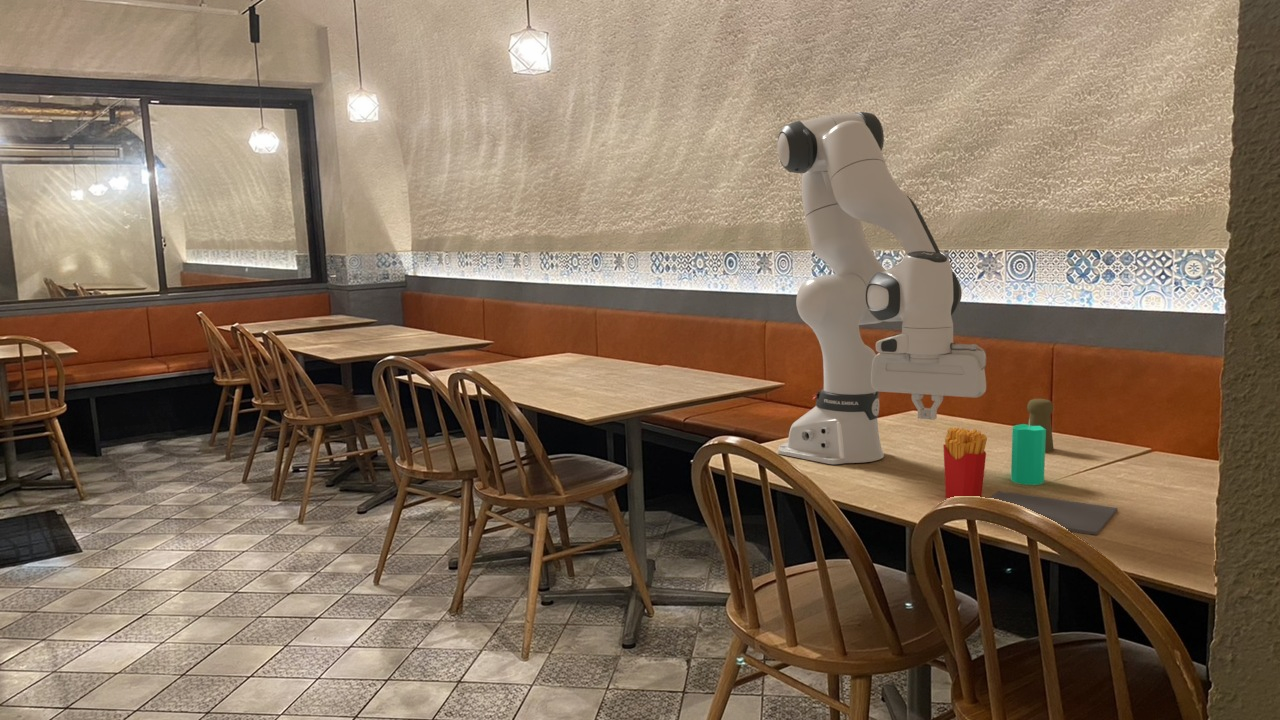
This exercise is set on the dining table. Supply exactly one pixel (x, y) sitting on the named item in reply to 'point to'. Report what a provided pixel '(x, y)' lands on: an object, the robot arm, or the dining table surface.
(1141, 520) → the dining table surface
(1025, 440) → the candle
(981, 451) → the french fries
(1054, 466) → the dining table surface
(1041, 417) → the cork
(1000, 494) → the mat
